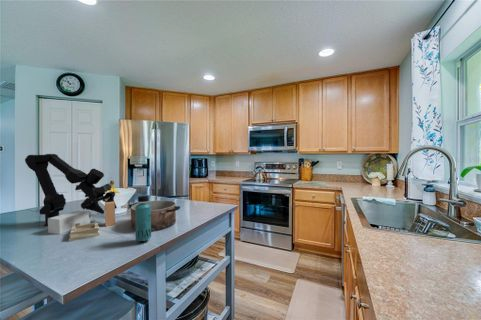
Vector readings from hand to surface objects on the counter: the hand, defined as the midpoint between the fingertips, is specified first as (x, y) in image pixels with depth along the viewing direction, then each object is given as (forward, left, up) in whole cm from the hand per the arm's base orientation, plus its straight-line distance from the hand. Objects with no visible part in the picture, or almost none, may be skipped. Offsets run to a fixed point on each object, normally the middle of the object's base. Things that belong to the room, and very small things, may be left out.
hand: (110, 210), depth 108 cm
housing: (+7, -11, -8) cm, 15 cm away
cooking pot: (+13, +19, -8) cm, 25 cm away
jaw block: (0, 0, -8) cm, 8 cm away
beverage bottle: (+33, +10, -8) cm, 35 cm away
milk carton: (-1, -23, -4) cm, 24 cm away
